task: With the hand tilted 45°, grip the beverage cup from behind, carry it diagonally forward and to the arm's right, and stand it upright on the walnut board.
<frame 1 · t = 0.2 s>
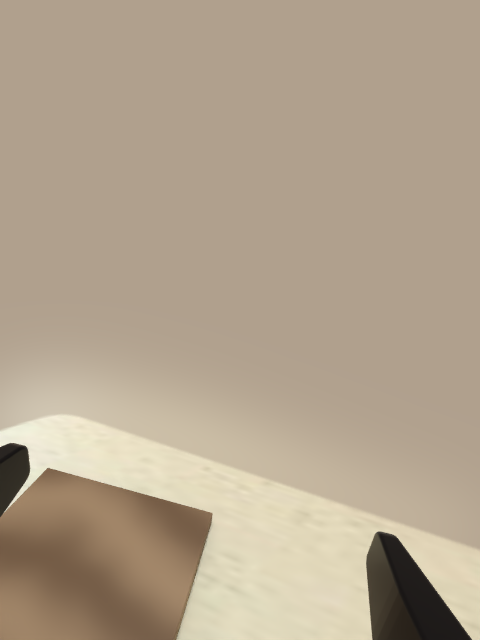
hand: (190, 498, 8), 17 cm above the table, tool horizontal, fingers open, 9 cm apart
walnut board: (67, 597, 20), on the table
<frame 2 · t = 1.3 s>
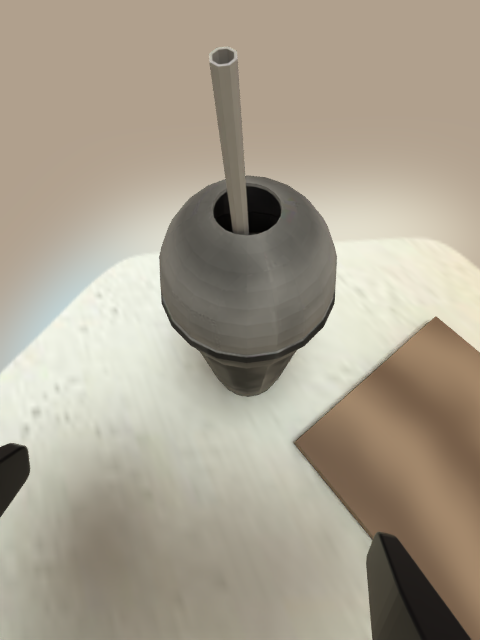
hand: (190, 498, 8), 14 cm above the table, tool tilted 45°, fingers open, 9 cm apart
walnut board: (450, 461, 21), on the table
beverage cup: (248, 366, 24), on the table
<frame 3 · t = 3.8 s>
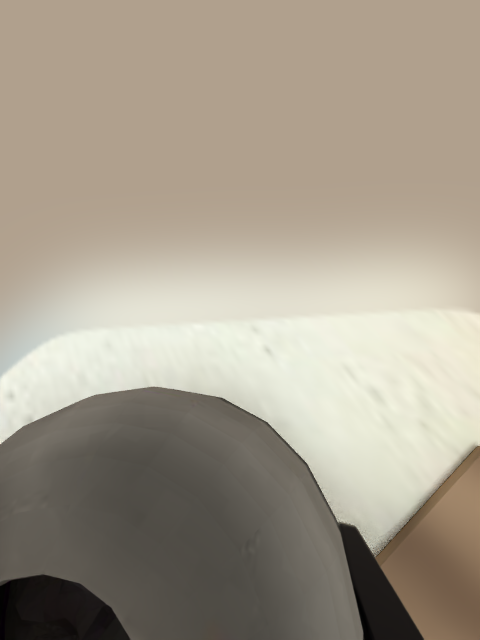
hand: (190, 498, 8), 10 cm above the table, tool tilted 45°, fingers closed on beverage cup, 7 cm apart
beverage cup: (214, 517, 16), on the table, touching gripper
when the fingers open (12 cm above the table, at t = 7.1 s): beverage cup drops 1 cm, resting on walnut board.
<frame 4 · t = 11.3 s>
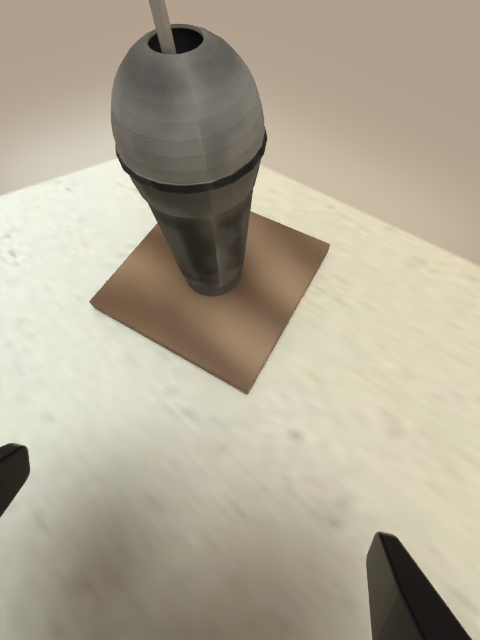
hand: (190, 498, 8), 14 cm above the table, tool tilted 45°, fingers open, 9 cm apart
walnut board: (215, 278, 27), on the table
beverage cup: (213, 273, 26), point 1 cm above the table, touching walnut board
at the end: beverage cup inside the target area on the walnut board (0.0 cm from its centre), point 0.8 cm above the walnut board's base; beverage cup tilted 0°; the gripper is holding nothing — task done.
